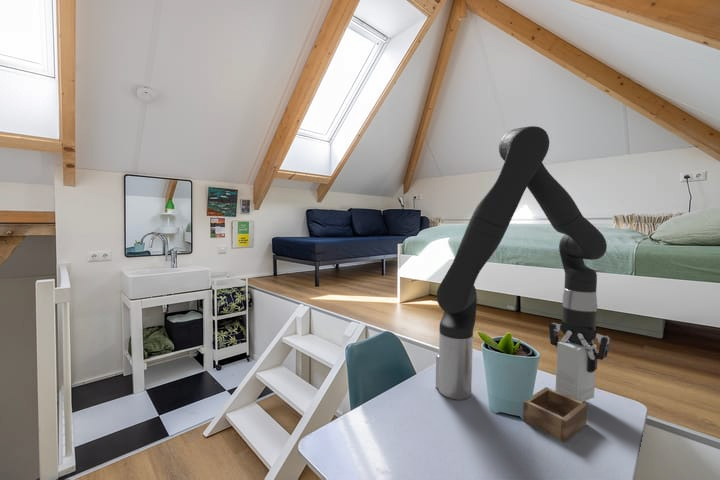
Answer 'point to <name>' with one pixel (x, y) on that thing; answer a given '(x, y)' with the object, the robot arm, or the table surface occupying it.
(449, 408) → the table surface
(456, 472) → the table surface
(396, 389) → the table surface
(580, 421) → the box
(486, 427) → the table surface
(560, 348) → the skincare box
